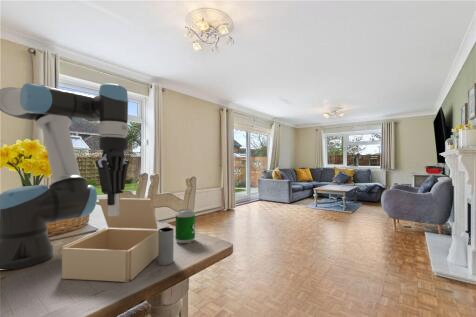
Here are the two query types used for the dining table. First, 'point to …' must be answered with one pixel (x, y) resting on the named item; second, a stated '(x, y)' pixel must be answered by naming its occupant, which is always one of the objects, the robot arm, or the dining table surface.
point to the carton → (110, 255)
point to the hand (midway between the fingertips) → (113, 215)
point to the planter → (165, 245)
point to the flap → (131, 214)
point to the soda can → (185, 226)
